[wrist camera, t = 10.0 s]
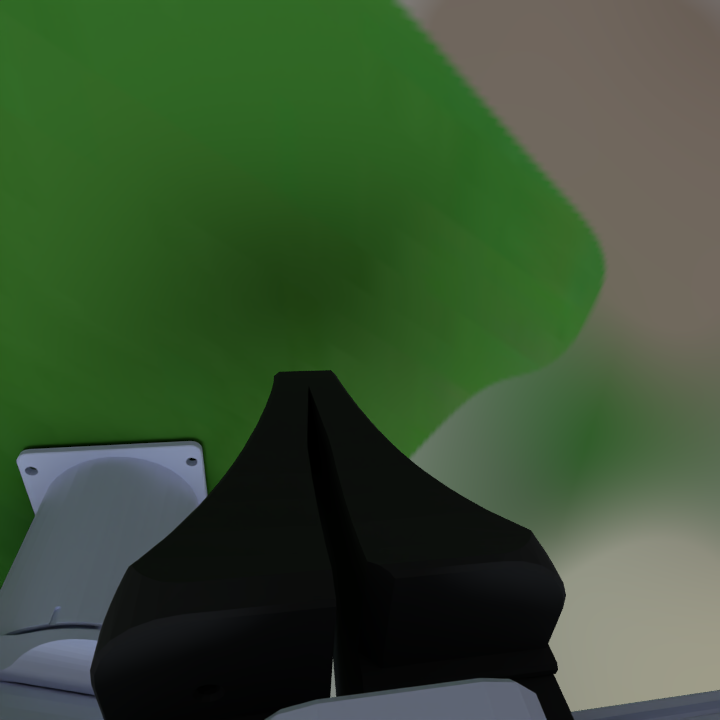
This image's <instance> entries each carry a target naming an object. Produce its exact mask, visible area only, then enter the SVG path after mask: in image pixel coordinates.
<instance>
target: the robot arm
mask: <svg viewBox="0 0 720 720" xmlns="http://www.w3.org/2000/svg"><path fill="white" fill-rule="evenodd" d="M188 458H195V459H196V460H194V461H191V460H189V459H188ZM17 465H18V468H19V470H20V473H21V476H22V479H23V482H24V485H25V488H26V491H27V493H28V496H29V499H30V502H31V505H32V508H33V511H34V513H35V517H34V519H33V521H32V524H31V526H30V528H29V530H28V532H27V534H26V536H25V539H24V541H23V543H22V545H21V547H20V549H19V551H18V553H17V556H16V558H15V560H14V562H13V564H12V566H11V568H10V571H9V573H8V575H7V577H6V579H5V581H4V583H3V586H2V588H1V590H0V720H720V690H717V691H710V692H703V693H696V694H690V695H683V696H676V697H669V698H662V699H655V700H649V701H642V702H635V703H628V704H622V705H615V706H608V707H601V708H594V709H587V710H581V711H574V712H571V711H570V709H569V707H568V705H567V703H566V700H565V698H564V696H563V694H562V692H561V689H560V687H559V685H558V683H557V681H556V678H555V677H554V674H556V672H557V670H558V666H557V662H556V660H555V657H554V655H553V653H552V651H551V649H550V647H549V645H548V642H549V640H550V638H551V635H552V633H553V630H554V628H555V626H556V624H557V621H558V619H559V616H560V614H561V611H562V609H563V606H564V601H565V597H566V594H565V589H564V584H563V581H562V580H561V578H560V576H559V574H558V572H557V571H556V569H555V567H554V565H553V563H552V561H551V560H550V558H549V557H548V555H547V553H546V552H545V550H544V549H543V547H542V546H541V544H540V543H539V542H538V540H537V539H536V537H535V536H534V534H533V533H532V531H531V530H529V529H527V528H525V527H522V526H520V525H518V524H516V523H514V522H512V521H510V520H507V519H505V518H503V517H501V516H499V515H497V514H495V513H492V512H490V511H488V510H486V509H484V508H483V507H481V506H479V505H477V504H475V503H474V502H472V501H470V500H468V499H466V498H465V497H463V496H461V495H460V494H458V493H456V492H455V491H453V490H451V489H450V488H448V487H447V486H445V485H444V484H442V483H441V482H439V481H438V480H437V479H435V478H433V477H432V476H431V475H429V474H428V473H426V472H425V471H424V470H422V469H421V468H420V467H418V466H417V465H416V464H415V463H413V462H412V461H411V460H410V459H409V458H407V457H406V456H405V455H404V454H403V453H401V452H400V451H399V450H398V449H397V448H396V447H395V446H394V445H393V444H392V443H391V442H390V441H389V440H388V439H387V438H386V437H385V436H384V435H383V434H382V433H381V432H380V431H379V430H378V429H377V428H376V427H375V426H374V424H373V423H372V422H371V421H370V420H369V419H368V418H367V416H366V415H365V414H364V413H363V412H362V410H361V409H360V408H359V407H358V406H357V404H356V403H355V402H354V401H353V399H352V398H351V397H350V395H349V394H348V393H347V391H346V390H345V388H344V387H343V385H342V384H341V383H340V381H339V380H338V378H337V376H336V375H335V374H334V373H333V372H332V371H331V370H326V371H292V372H278V373H277V374H276V375H275V376H274V383H273V387H272V391H271V394H270V396H269V399H268V402H267V404H266V407H265V409H264V411H263V413H262V415H261V417H260V420H259V422H258V424H257V426H256V428H255V429H254V431H253V433H252V434H251V436H250V438H249V440H248V441H247V443H246V445H245V447H244V448H243V450H242V451H241V453H240V454H239V456H238V457H237V459H236V460H235V462H234V463H233V465H232V466H231V467H230V469H229V470H228V471H227V473H226V474H225V475H224V477H223V478H222V479H221V480H220V482H219V483H218V484H217V485H216V486H215V488H214V489H213V490H212V491H211V492H210V494H209V495H208V494H207V486H206V477H205V468H204V459H203V450H202V446H201V445H200V444H199V443H197V442H195V441H180V442H160V443H141V444H121V445H101V446H81V447H62V448H42V449H27V450H23V451H22V452H21V453H20V454H19V456H18V458H17ZM30 467H34V468H36V469H37V470H35V469H31V468H30ZM332 662H334V675H335V687H336V697H332V698H330V691H331V676H332Z"/></svg>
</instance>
